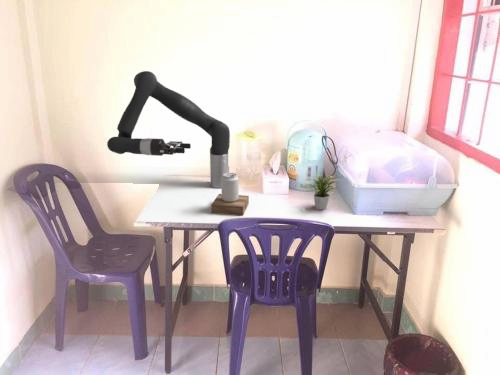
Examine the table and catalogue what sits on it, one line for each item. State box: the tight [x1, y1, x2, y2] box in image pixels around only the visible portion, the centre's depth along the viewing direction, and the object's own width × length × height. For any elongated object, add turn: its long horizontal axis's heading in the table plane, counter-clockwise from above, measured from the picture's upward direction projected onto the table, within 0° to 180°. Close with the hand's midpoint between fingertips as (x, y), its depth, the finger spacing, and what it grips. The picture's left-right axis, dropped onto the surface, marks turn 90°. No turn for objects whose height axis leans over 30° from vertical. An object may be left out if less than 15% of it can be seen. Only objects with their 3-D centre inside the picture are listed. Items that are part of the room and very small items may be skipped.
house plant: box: [308, 172, 340, 211], centre depth 194 cm, size 14×14×16 cm
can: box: [221, 172, 240, 202], centre depth 192 cm, size 8×8×12 cm
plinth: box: [210, 193, 250, 216], centre depth 195 cm, size 14×14×4 cm
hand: (187, 148), depth 192 cm, fingers open, 8 cm apart
